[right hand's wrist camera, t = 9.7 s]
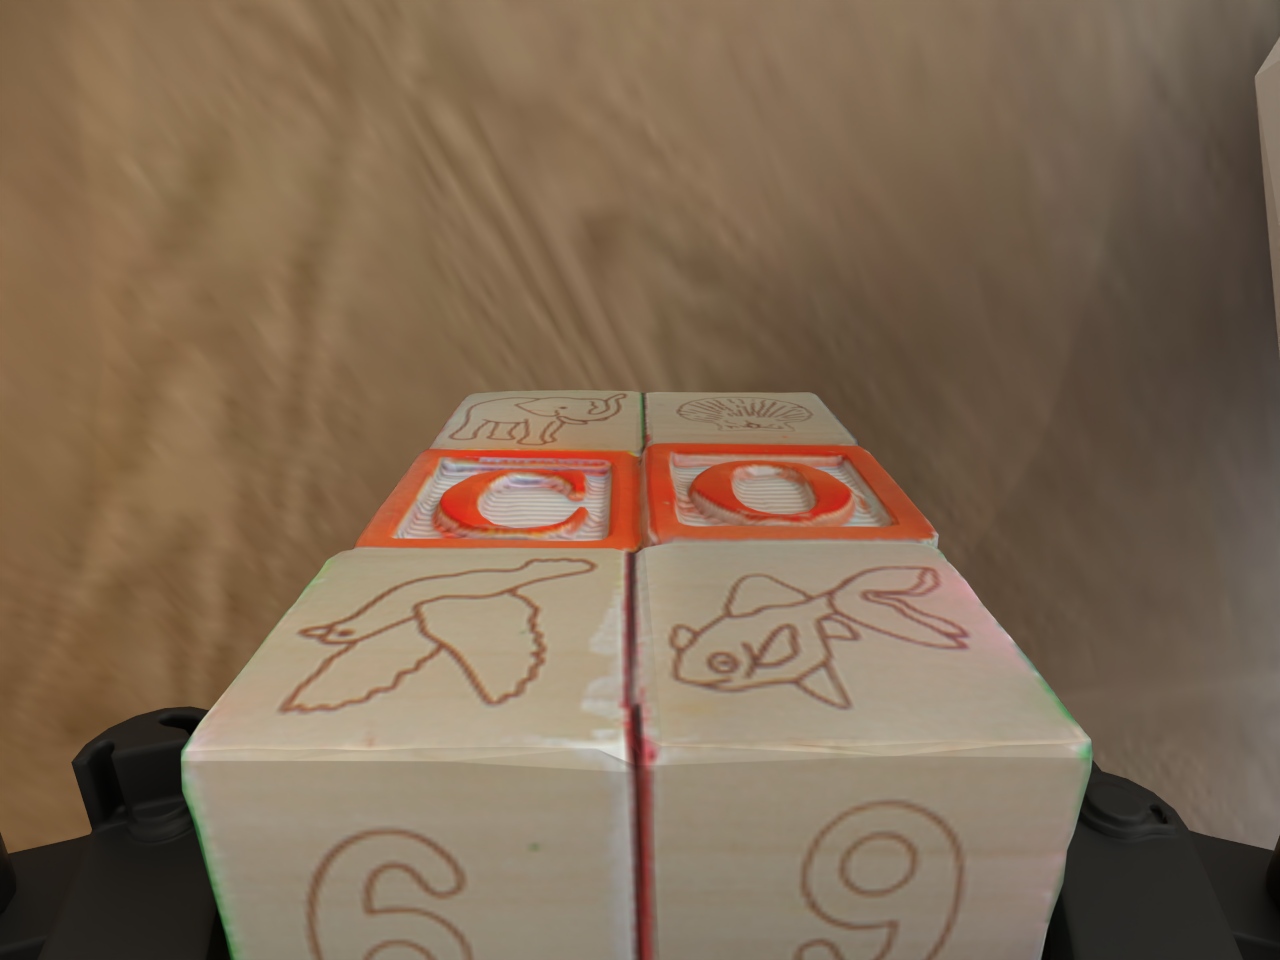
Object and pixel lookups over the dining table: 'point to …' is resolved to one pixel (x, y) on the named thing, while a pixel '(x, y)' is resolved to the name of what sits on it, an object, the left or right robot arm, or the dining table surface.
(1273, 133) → the sphere
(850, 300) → the dining table surface
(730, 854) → the stack of blocks
